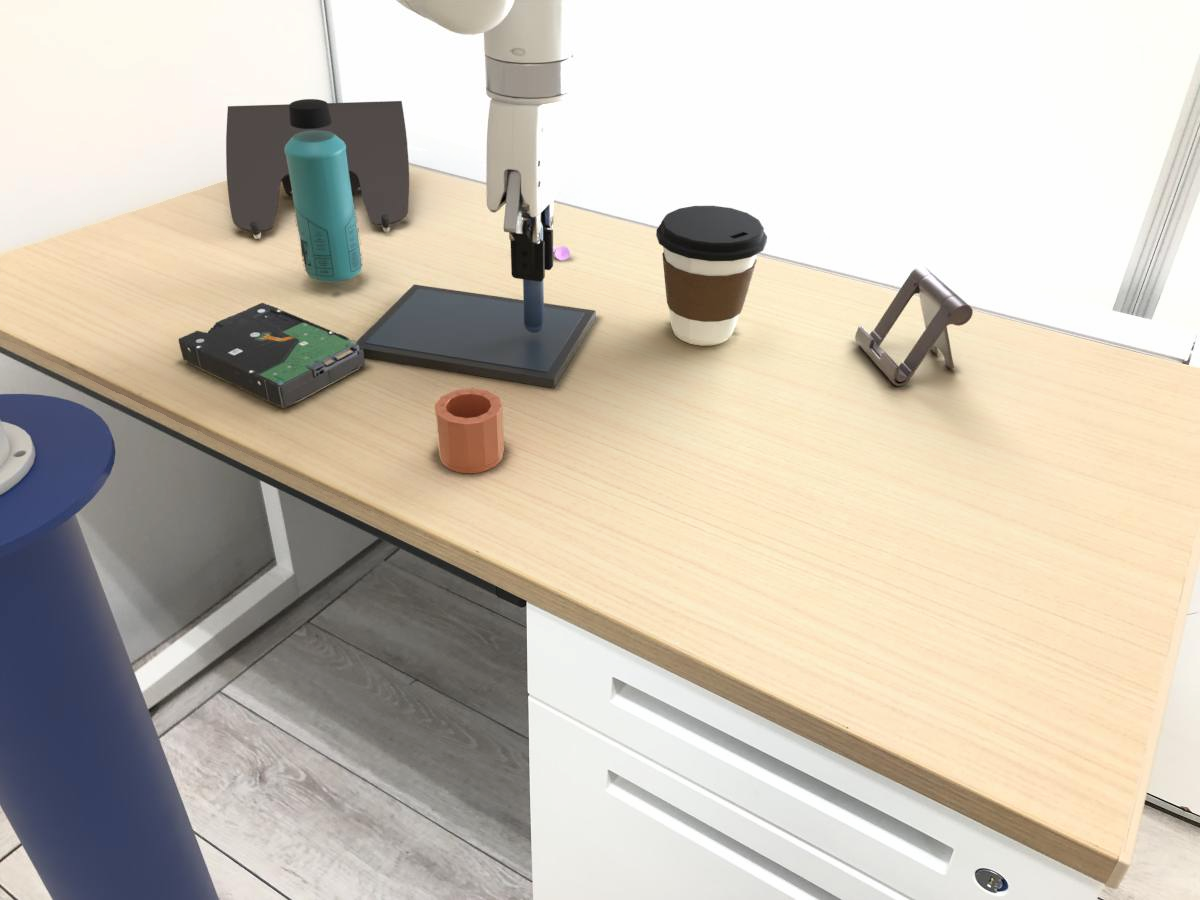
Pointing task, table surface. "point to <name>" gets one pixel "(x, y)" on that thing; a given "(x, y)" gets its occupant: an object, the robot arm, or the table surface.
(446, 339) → the tablet
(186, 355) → the disk drive
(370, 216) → the laptop tray
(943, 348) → the tablet stand
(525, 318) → the blue rounded rod
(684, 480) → the table surface
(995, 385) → the table surface
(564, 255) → the pink pawn
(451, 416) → the pen pot
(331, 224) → the beverage bottle
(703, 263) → the coffee cup
